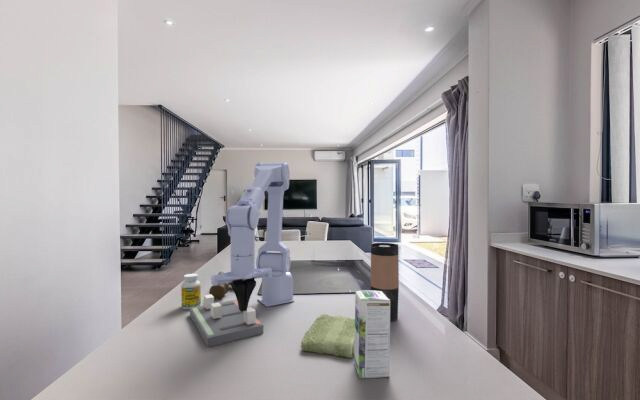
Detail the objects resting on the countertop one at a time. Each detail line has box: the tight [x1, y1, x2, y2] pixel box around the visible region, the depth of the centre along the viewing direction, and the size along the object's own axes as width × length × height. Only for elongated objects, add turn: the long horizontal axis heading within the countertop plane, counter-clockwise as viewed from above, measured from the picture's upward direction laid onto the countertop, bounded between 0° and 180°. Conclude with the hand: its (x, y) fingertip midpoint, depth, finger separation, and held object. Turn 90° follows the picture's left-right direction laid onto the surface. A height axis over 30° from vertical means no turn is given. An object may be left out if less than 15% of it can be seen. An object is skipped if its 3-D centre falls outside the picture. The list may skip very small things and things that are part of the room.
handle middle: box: [211, 302, 222, 319], centre depth 79 cm, size 2×3×3 cm, turn 32°
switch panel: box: [189, 299, 264, 348], centre depth 80 cm, size 13×22×2 cm, turn 32°
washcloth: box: [300, 313, 355, 359], centre depth 72 cm, size 13×18×3 cm
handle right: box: [203, 293, 215, 309], centre depth 86 cm, size 2×3×3 cm, turn 32°
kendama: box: [209, 271, 231, 300], centre depth 109 cm, size 6×10×20 cm
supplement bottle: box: [180, 273, 202, 310], centre depth 93 cm, size 5×5×10 cm
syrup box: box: [353, 289, 391, 379], centre depth 59 cm, size 6×6×14 cm
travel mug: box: [370, 242, 400, 322], centre depth 85 cm, size 8×8×20 cm
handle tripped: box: [244, 306, 257, 325], centre depth 76 cm, size 2×3×3 cm, turn 32°
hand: (242, 309), depth 75 cm, fingers closed
